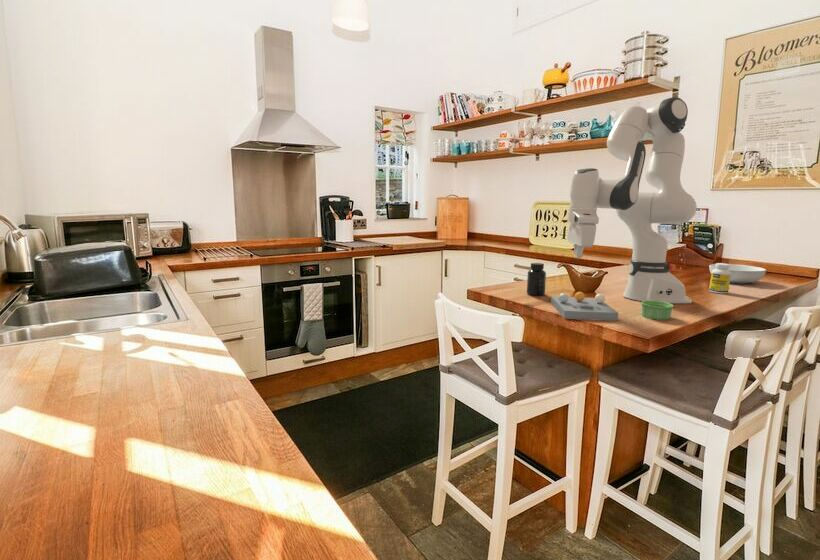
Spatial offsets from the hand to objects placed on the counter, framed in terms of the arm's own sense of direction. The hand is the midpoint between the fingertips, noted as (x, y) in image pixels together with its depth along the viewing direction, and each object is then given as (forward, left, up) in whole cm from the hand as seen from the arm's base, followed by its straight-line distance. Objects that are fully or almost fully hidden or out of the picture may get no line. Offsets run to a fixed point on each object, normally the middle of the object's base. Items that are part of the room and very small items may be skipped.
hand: (577, 257), depth 153 cm
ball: (0, +5, -13) cm, 13 cm away
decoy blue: (+6, +8, -12) cm, 16 cm away
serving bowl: (-85, -57, -17) cm, 104 cm away
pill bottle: (-64, -31, -17) cm, 73 cm away
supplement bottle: (+11, -15, -17) cm, 25 cm away
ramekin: (-22, +12, -17) cm, 30 cm away
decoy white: (-6, +7, -12) cm, 16 cm away
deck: (0, +9, -17) cm, 19 cm away
